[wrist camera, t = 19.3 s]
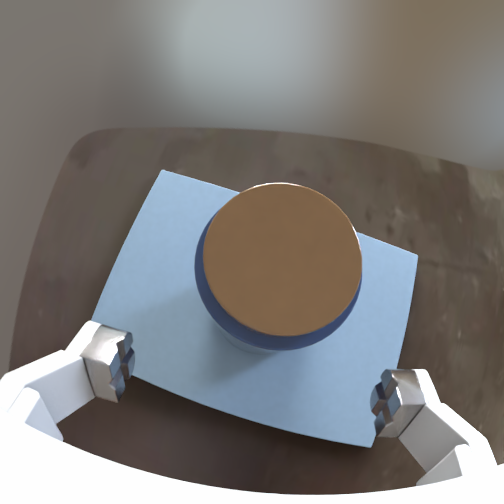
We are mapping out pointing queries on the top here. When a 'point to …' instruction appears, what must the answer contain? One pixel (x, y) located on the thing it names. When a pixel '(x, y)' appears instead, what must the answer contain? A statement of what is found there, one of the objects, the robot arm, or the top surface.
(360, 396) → the blue mat
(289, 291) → the blue jar
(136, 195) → the top surface
